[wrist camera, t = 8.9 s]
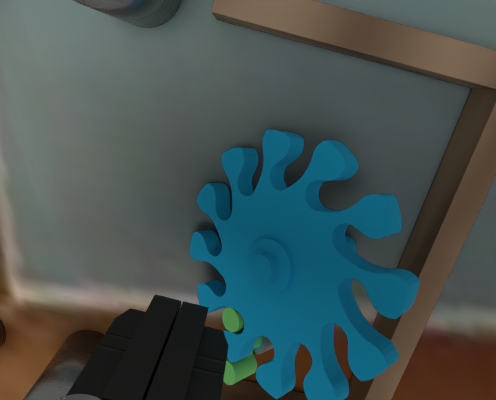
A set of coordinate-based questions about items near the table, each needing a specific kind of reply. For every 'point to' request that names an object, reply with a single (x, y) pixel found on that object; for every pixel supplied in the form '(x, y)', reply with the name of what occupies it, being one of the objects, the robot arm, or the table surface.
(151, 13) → the spacers
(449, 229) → the frame
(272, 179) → the gear
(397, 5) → the table surface
